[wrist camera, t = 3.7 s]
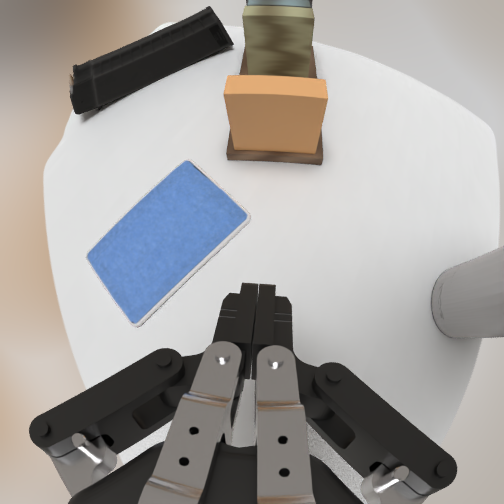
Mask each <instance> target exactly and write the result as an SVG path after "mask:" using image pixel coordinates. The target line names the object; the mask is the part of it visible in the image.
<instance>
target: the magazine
mask: <svg viewBox="0 0 504 504" xmlns="http://www.w3.org/2000/svg"><path fill="white" fill-rule="evenodd" d="M230 45H231V46H232V45H234V44H233V42H232V40H231V38H230V37H229V35H228V33H227V31H226V30H225V28H224V26H223V25H222V23H221V21H220V20H219V18H218V17H217V16H216V14H215V13H214V11H213V10H212V8H211V7H210V6H208V7H206V9H204V10H202V11H200V12H198V13H196V14H194V15H193V16H190V17H188V18H186V19H184V20H182V21H180V22H178V23H175V24H173V25H171V26H168V27H166V28H164V29H162V30H159V31H157V32H155V33H153V34H151V35H149V36H147V37H144V38H142V39H140V40H138V41H135V42H133V43H131V44H129V45H126V46H124V47H122V48H120V49H117V50H115V51H112V52H110V53H108V54H105V55H103V56H100V57H98V58H96V59H93V60H89V61H88V62H86V63H84V64H82V65H78V66H77V65H74V66H73V72H74V74H73V78H72V76H71V74H69V84H70V98H71V102H72V105H73V109H74V112H75V114H82V113H84V112H87V111H89V110H92V109H94V108H98V110H100V106H102V105H104V104H106V103H108V102H111V101H113V100H115V99H118V98H120V97H122V96H125V95H127V94H129V93H132V92H134V91H136V90H139V89H141V88H143V87H145V86H147V85H149V84H151V83H154V82H156V81H158V80H160V79H162V78H164V77H166V76H168V75H170V74H172V73H174V72H177V71H179V70H181V69H183V68H185V67H187V66H189V65H191V64H193V63H195V62H197V61H199V60H201V59H203V58H205V57H207V56H209V55H211V54H213V53H215V52H217V51H219V50H221V49H223V48H226V47H228V46H230Z"/></svg>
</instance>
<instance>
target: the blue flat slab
mask: <svg viewBox="0 0 504 504" xmlns="http://www.w3.org/2000/svg"><path fill="white" fill-rule="evenodd" d="M250 220H251V215H250V213H249V212H248V211H247V210H246V209H245V208H244V207H243V206H242V205H240V204H239V203H238V202H237V201H236V200H235V199H234V198H233V197H232V196H231V195H230V194H229V193H227V192H226V191H225V190H224V189H223V188H222V187H221V186H220V185H219V184H218V183H217V182H216V181H214V180H213V179H212V178H211V177H210V176H209V175H208V174H207V173H206V172H205V171H203V170H202V169H201V168H200V167H199V166H198V165H197V164H196V163H195V162H194V161H192V160H190V159H187V160H184V161H183V162H181V163H180V164H179V165H178V166H177V167H175V168H174V169H173V170H172V171H171V172H170V173H168V174H167V175H166V176H165V177H164V178H163V179H162V180H160V181H159V182H158V183H157V184H156V185H155V186H154V187H153V188H152V189H151V190H149V191H148V192H147V193H146V194H145V195H144V196H143V197H142V198H141V199H140V200H139V201H138V202H137V203H135V204H134V205H133V206H132V207H131V208H130V209H129V210H128V211H127V212H126V213H125V214H124V215H123V216H122V217H121V218H120V219H119V220H118V221H117V222H116V223H115V224H114V225H113V226H112V227H111V228H110V229H109V230H108V231H107V232H106V233H105V234H104V235H103V236H102V237H101V238H100V239H99V240H98V241H97V242H96V244H95V245H94V246H93V247H92V248H91V249H90V250H89V251H88V252H87V255H86V259H87V262H88V263H89V265H90V266H91V268H92V270H93V271H94V272H95V274H96V276H97V277H98V279H99V280H100V282H101V283H102V285H103V286H104V288H105V289H106V291H107V292H108V294H109V295H110V296H111V298H112V299H113V301H114V302H115V304H116V305H117V306H118V308H119V309H120V311H121V312H122V313H123V315H124V316H125V317H126V319H127V320H128V322H129V323H130V324H131V325H132V326H134V327H139V326H141V325H142V324H143V323H144V322H145V321H146V320H147V319H148V318H149V317H150V316H151V315H152V314H153V313H154V312H155V311H156V310H157V309H158V308H159V307H160V306H161V305H162V304H163V303H164V302H165V301H166V300H167V299H168V298H170V297H171V296H172V295H173V294H174V293H175V292H176V291H177V290H178V289H179V288H180V287H181V286H182V285H183V284H184V283H185V282H186V281H187V280H188V279H189V278H190V277H191V276H192V275H194V274H195V273H196V272H197V271H198V270H199V269H200V268H201V267H202V266H203V265H204V264H205V263H206V262H207V261H208V260H209V259H210V258H212V257H213V256H214V255H215V254H216V253H217V252H218V251H219V250H220V249H221V248H223V247H224V246H225V245H226V244H227V243H228V242H229V241H230V240H231V239H232V238H234V237H235V236H236V235H237V234H238V233H239V232H240V231H241V230H242V229H243V228H244V227H245V226H246V225H247V224H248V223H249V222H250Z"/></svg>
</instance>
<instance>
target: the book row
mask: <svg viewBox="0 0 504 504" xmlns="http://www.w3.org/2000/svg"><path fill="white" fill-rule="evenodd" d="M246 3H247V6H245V8H244V12H243V15H242V16H243V27H244V36H245V49H244V54H243V59H242V65H241V70H240V75H267V76H289V77H303V78H314V79H317V76H316V67H315V59H314V51H313V46H312V37H313V28H314V14H313V9H312V0H246ZM226 154H227V158H228V160H250V161H273V162H290V163H304V164H316V165H321V164H322V161H323V148H322V132H320V136H319V140H318V144H317V149H316V153H315V154H306V153H293V152H276V151H253V150H234V145H233V139H232V134H231V129H230V133H229V139H228V146H227V152H226Z"/></svg>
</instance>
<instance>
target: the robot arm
mask: <svg viewBox="0 0 504 504" xmlns="http://www.w3.org/2000/svg"><path fill="white" fill-rule="evenodd" d="M275 290H276V285H270V284H260V285H259V294H258V284H254V283H242V286H241V291H240V294H237V293H229V294H228V295H227V296H226V297H225V299H224V300H223V302H222V306H221V310H220V314H219V318H218V322H217V326H216V330H215V334H214V337H213V341H212V344H211V345H209V346H208V347H207V348H206V350H205V351H204V352H202V353H200V354H197V355H192V356H184V357H181V355H180V354H179V353H178V352H177V351H175V350H173V349H169V348H162V349H158V350H156V351H154V352H152V353H150V354H149V355H147V356H145V357H144V358H142V359H140V360H139V361H137V362H135V363H133V364H132V365H130V366H128V367H126V368H125V369H123V370H121V371H120V372H118V373H116V374H114V375H113V376H111V377H109V378H107V379H105V380H104V381H102V382H100V383H98V384H97V385H95V386H93V387H91V388H89V389H88V390H86V391H84V392H82V393H80V394H78V395H77V396H75V397H73V398H71V399H69V400H67V401H66V402H64V403H62V404H60V405H58V406H57V407H54V408H52V409H51V410H49V411H47V412H45V413H43V414H41V415H39V416H37V417H36V418H35V419H34V420H33V421H32V422H31V425H30V428H29V434H30V438H31V440H32V441H33V443H34V444H35V445H37V446H38V447H39V448H41V449H42V450H43V451H44V452H45V453H46V454H48V455H49V456H50V458H51V459H52V461H53V463H54V465H55V467H56V469H57V471H58V473H59V475H60V477H61V479H62V480H63V482H64V484H65V486H66V488H67V489H68V491H69V492H70V494H71V496H72V498H71V499H70V501H69V503H68V504H364V503H363V502H362V501H361V500H360V499H359V498H358V497H357V496H356V495H355V494H354V493H353V492H352V491H351V490H350V489H349V488H348V487H347V486H346V485H345V484H344V483H343V482H342V481H341V480H340V479H339V478H338V477H337V476H336V475H335V474H334V473H333V472H332V471H331V469H330V468H329V467H328V466H327V465H326V464H325V463H323V462H322V461H321V460H319V459H318V458H316V457H314V456H312V455H310V454H309V447H308V437H307V427H306V421H307V423H308V424H309V425H310V426H311V427H312V428H313V429H314V430H315V431H316V432H317V433H318V434H319V435H320V436H321V437H322V438H323V439H324V440H325V441H326V442H327V443H328V444H329V445H330V446H331V447H332V448H333V449H334V450H335V451H336V452H337V453H338V454H339V455H340V456H341V457H342V458H343V459H344V460H345V461H346V462H347V463H348V464H349V465H350V466H351V467H352V468H353V469H355V470H356V471H357V472H358V473H359V474H360V475H361V476H362V477H363V478H364V480H363V481H362V484H361V493H362V495H363V497H364V498H365V499H366V501H367V503H368V504H422V503H423V502H424V500H426V498H427V497H428V496H429V495H431V494H433V493H435V492H437V491H439V490H441V489H443V488H445V487H447V486H449V485H450V484H451V483H452V482H453V480H454V479H455V477H456V474H457V465H456V462H455V460H454V458H453V457H452V456H451V455H449V454H448V453H447V452H445V451H444V450H443V449H442V448H441V447H439V446H438V445H437V444H436V443H435V442H433V441H432V440H431V439H430V438H429V437H427V436H426V435H425V434H424V433H422V432H421V431H420V430H419V429H418V428H416V427H415V426H414V425H413V424H412V423H410V422H409V421H408V420H407V419H406V418H405V417H403V416H402V415H401V414H400V413H399V412H397V411H396V410H395V409H394V408H393V407H392V406H390V405H389V404H388V403H387V402H386V401H385V400H383V399H382V398H381V397H380V396H379V395H378V394H376V393H375V392H374V391H373V390H372V389H371V388H369V387H368V386H367V385H366V384H365V383H364V382H363V381H361V380H360V379H359V378H358V377H357V376H356V375H354V374H353V373H352V372H351V371H350V370H349V369H348V368H346V367H345V366H344V365H342V364H339V363H334V362H329V363H325V364H323V365H321V366H320V367H315V366H312V365H308V364H306V363H304V362H302V361H300V360H299V359H298V358H297V357H296V355H295V354H294V351H293V336H292V305H291V303H290V301H289V300H288V298H287V297H281V296H275ZM432 312H433V316H434V320H435V322H436V324H437V326H438V327H439V329H440V330H441V331H442V332H443V333H444V334H445V335H447V336H449V337H452V338H492V337H504V246H502V247H500V248H498V249H496V250H493V251H491V252H489V253H486V254H484V255H482V256H479V257H477V258H475V259H472V260H470V261H467V262H465V263H462V264H460V265H457V266H455V267H452V268H450V269H448V270H446V271H444V272H443V273H442V274H441V275H440V277H439V278H438V280H437V281H436V284H435V286H434V289H433V294H432ZM251 365H252V378H251V379H253V380H256V381H255V397H254V446H249V447H242V448H238V447H234V446H231V444H232V436H233V430H234V426H235V421H236V417H237V413H238V409H239V404H240V400H241V396H242V391H243V387H244V379H250V373H251ZM171 420H173V421H172V424H171V426H170V429H169V432H168V434H167V437H166V440H165V441H163V442H161V443H158V444H156V445H154V446H152V447H150V448H149V449H147V450H146V451H144V452H143V453H141V454H140V455H138V456H137V457H135V458H134V459H132V460H131V461H129V462H128V463H126V464H125V465H123V466H122V467H120V468H119V469H117V470H115V471H114V472H112V473H110V472H111V471H112V470H113V469H114V468H115V466H116V464H117V456H116V455H117V454H119V453H121V452H122V451H124V450H126V449H127V448H129V447H131V446H132V445H134V444H135V443H137V442H139V441H140V440H142V439H143V438H145V437H147V436H148V435H150V434H151V433H153V432H154V431H156V430H158V429H159V428H161V427H162V426H164V425H165V424H167V423H168V422H170V421H171ZM108 473H110V474H109V475H108Z"/></svg>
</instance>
